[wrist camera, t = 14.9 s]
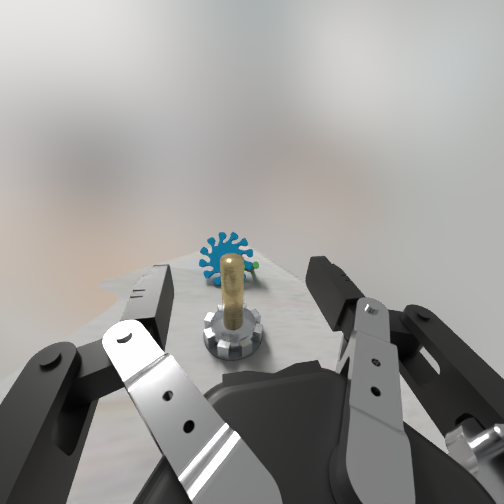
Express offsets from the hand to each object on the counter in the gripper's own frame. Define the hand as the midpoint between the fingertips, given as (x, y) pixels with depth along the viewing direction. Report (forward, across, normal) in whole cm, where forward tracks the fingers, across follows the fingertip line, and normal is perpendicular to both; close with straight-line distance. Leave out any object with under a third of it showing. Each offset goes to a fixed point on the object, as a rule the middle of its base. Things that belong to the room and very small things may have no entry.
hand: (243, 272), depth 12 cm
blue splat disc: (+23, -1, +19) cm, 29 cm away
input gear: (+9, -1, +18) cm, 20 cm away
